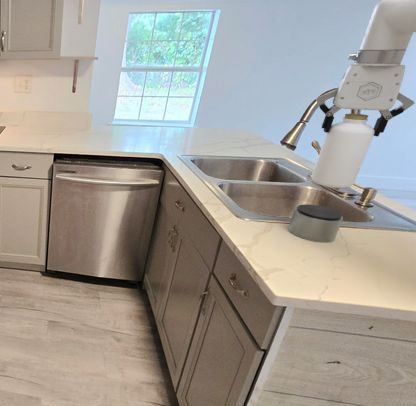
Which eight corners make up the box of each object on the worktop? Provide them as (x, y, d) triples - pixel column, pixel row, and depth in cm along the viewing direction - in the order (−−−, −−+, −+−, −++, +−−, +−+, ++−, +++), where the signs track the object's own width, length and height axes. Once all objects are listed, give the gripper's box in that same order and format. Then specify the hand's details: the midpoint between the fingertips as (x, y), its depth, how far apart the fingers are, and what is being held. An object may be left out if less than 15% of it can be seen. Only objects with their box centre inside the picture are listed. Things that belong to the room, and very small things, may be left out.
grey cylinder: (339, 235, 101) (349, 212, 98) (327, 246, 96) (337, 222, 93) (295, 222, 109) (302, 201, 106) (282, 232, 104) (289, 209, 101)
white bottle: (353, 183, 96) (381, 114, 89) (351, 192, 91) (381, 119, 83) (311, 176, 101) (335, 110, 94) (307, 184, 96) (332, 115, 89)
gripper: (330, 59, 86) (305, 132, 93) (441, 59, 76) (404, 140, 83) (325, 58, 91) (303, 127, 98) (428, 57, 82) (395, 134, 89)
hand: (349, 133), depth 91 cm, fingers closed on white bottle, 8 cm apart
